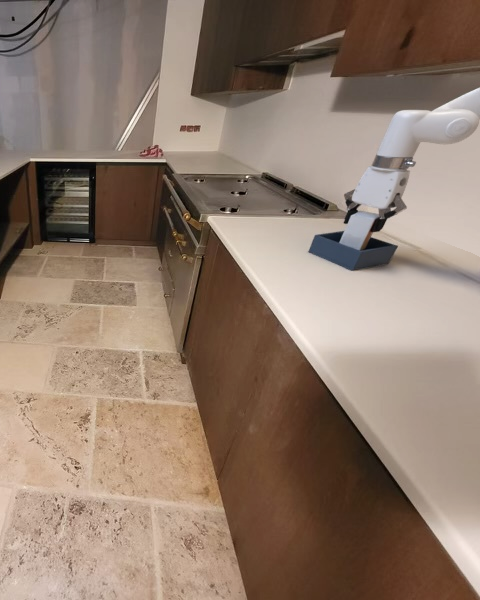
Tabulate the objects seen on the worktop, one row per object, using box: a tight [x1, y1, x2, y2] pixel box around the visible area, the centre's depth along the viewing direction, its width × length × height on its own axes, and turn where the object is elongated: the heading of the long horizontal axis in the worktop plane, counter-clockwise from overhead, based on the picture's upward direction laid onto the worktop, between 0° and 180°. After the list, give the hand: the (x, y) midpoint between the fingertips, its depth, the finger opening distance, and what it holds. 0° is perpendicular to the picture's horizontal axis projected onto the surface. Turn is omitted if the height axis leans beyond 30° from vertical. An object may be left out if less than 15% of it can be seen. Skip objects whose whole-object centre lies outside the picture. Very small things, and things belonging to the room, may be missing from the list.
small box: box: [339, 210, 379, 251], centre depth 96 cm, size 8×6×10 cm
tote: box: [307, 230, 399, 272], centre depth 99 cm, size 15×15×6 cm
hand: (361, 226), depth 95 cm, fingers closed on small box, 7 cm apart
